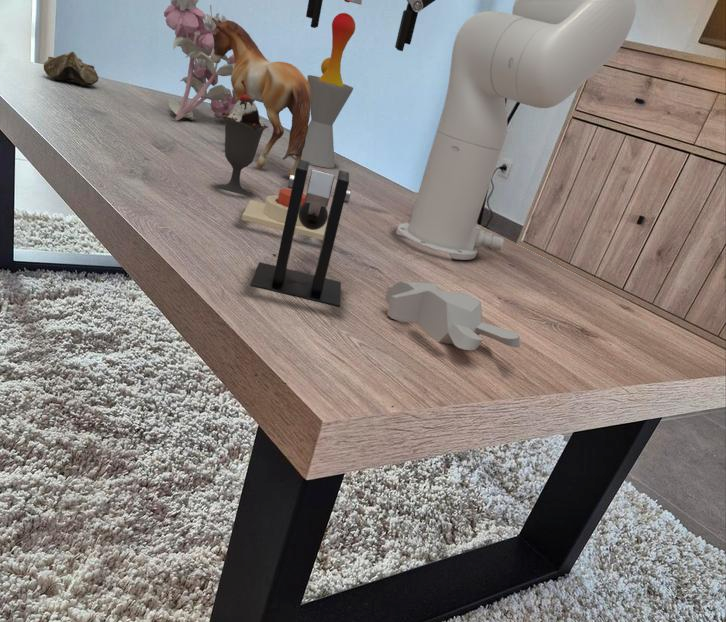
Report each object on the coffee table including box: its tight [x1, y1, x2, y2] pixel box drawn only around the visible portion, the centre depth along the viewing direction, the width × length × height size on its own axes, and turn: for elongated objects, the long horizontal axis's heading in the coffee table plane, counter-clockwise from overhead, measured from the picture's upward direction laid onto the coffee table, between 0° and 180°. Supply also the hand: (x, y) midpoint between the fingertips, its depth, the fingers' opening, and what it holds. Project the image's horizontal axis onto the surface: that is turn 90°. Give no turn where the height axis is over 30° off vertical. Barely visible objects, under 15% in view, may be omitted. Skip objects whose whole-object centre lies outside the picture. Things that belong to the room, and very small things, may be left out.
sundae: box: [215, 80, 270, 197], centre depth 96 cm, size 7×7×15 cm
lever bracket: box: [250, 160, 352, 308], centre depth 68 cm, size 7×9×13 cm
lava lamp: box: [291, 0, 363, 169], centre depth 128 cm, size 9×9×35 cm
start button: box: [277, 188, 306, 207], centre depth 88 cm, size 4×4×2 cm
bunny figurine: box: [384, 281, 521, 351], centre depth 68 cm, size 10×5×15 cm
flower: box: [163, 0, 236, 122], centre depth 139 cm, size 20×22×25 cm
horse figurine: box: [210, 17, 311, 178], centre depth 116 cm, size 31×8×21 cm, turn 39°
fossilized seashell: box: [43, 51, 100, 87], centre depth 141 cm, size 8×7×10 cm
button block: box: [241, 194, 328, 241], centre depth 89 cm, size 11×8×4 cm
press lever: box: [299, 169, 335, 230], centre depth 70 cm, size 12×3×3 cm
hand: (356, 38), depth 75 cm, fingers open, 9 cm apart
